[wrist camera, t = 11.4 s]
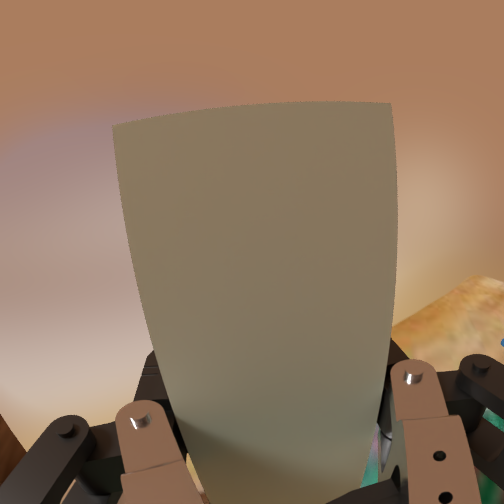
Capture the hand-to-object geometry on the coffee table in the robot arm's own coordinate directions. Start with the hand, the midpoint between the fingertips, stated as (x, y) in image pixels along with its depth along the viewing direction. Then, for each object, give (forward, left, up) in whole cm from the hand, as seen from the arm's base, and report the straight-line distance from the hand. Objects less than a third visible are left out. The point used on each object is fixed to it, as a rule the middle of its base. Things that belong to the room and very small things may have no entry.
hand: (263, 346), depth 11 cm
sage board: (0, +3, -9) cm, 9 cm away
